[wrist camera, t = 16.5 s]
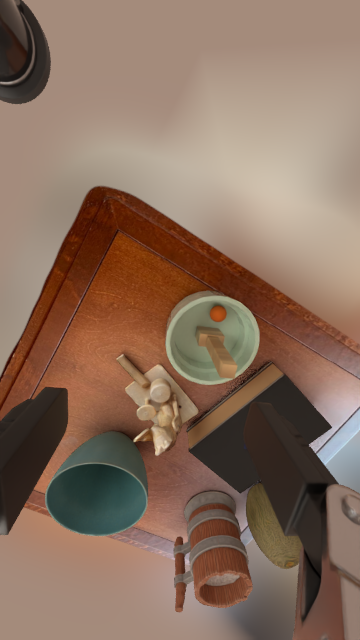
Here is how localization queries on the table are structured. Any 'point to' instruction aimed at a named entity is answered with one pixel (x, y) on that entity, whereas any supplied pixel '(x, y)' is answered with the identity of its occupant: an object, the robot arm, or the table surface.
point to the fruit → (270, 530)
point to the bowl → (196, 312)
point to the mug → (212, 553)
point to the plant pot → (100, 487)
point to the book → (230, 417)
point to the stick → (216, 350)
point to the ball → (218, 313)
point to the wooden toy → (158, 404)
